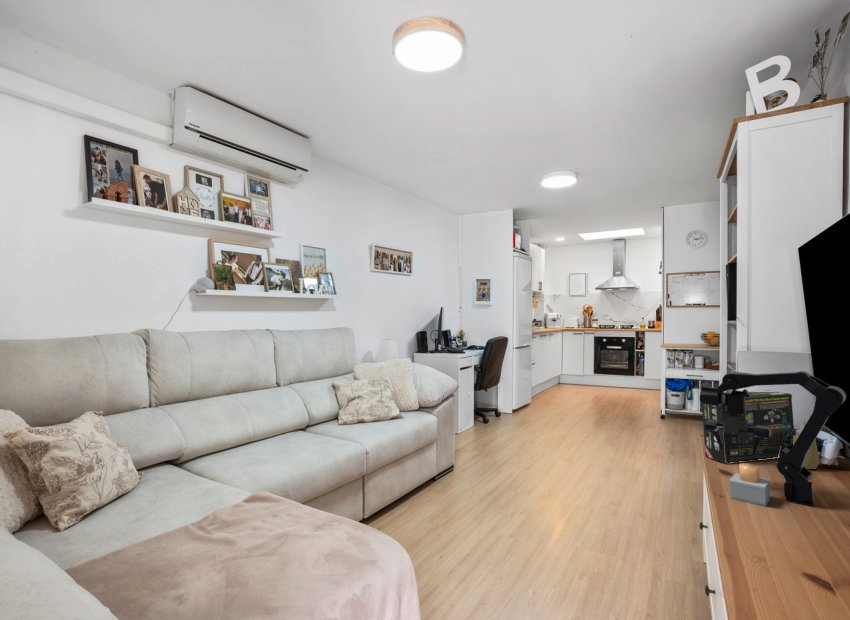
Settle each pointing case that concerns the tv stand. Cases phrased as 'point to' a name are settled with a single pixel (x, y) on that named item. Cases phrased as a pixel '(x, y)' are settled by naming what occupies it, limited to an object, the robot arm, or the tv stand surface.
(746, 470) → the tan cylinder grey end
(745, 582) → the tv stand surface
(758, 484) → the box lid
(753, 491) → the box
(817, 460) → the squeeze bottle
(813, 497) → the robot arm
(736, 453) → the router box
